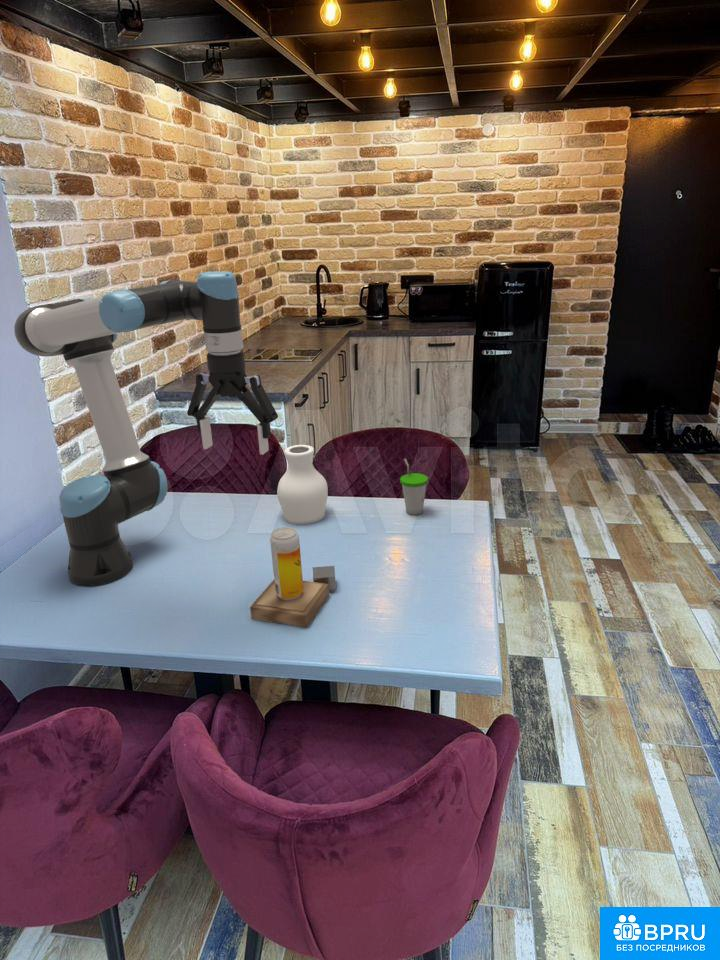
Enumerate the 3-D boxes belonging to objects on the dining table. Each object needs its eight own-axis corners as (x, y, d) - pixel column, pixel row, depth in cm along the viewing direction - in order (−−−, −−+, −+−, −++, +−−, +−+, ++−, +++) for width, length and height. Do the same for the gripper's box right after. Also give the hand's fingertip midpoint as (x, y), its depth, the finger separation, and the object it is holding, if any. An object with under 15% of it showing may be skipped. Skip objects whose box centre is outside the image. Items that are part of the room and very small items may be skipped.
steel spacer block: (314, 593, 156) (313, 578, 154) (314, 582, 161) (312, 567, 159) (336, 591, 156) (335, 576, 155) (335, 580, 161) (334, 565, 159)
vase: (283, 529, 187) (276, 461, 180) (276, 508, 200) (269, 444, 193) (334, 521, 190) (329, 454, 183) (324, 502, 203) (319, 438, 196)
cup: (430, 517, 190) (429, 467, 184) (401, 518, 190) (400, 468, 184) (427, 505, 197) (426, 456, 191) (399, 507, 197) (398, 458, 191)
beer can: (309, 594, 149) (304, 532, 144) (286, 604, 146) (279, 542, 140) (293, 584, 154) (287, 523, 148) (270, 593, 150) (264, 532, 144)
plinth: (251, 618, 147) (249, 605, 146) (277, 588, 159) (275, 575, 157) (307, 627, 143) (305, 614, 142) (329, 595, 155) (328, 583, 153)
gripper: (161, 353, 139) (176, 450, 148) (272, 357, 132) (281, 460, 140) (182, 345, 146) (194, 439, 154) (288, 349, 138) (296, 448, 146)
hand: (235, 449), depth 147 cm, fingers open, 13 cm apart
